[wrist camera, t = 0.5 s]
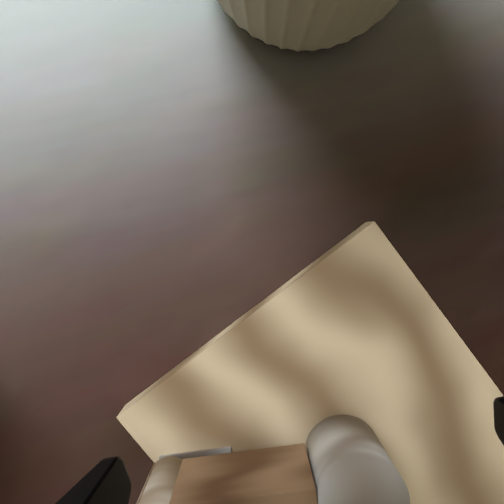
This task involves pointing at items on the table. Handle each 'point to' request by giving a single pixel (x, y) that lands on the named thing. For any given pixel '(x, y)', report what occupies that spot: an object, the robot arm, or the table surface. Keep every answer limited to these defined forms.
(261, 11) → the canister
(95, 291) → the table surface
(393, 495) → the wooden dumbbell
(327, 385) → the striped placemat
